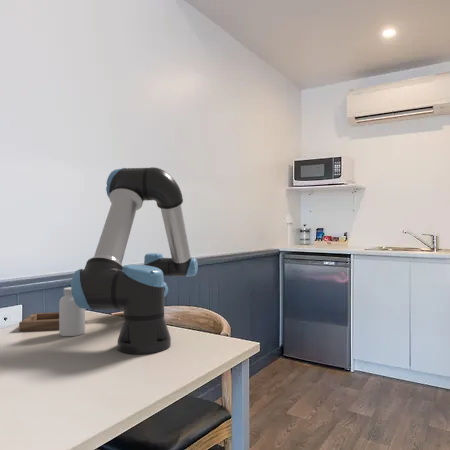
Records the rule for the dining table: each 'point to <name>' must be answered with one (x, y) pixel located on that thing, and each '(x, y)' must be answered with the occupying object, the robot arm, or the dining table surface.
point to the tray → (40, 322)
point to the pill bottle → (70, 316)
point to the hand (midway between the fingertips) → (95, 304)
